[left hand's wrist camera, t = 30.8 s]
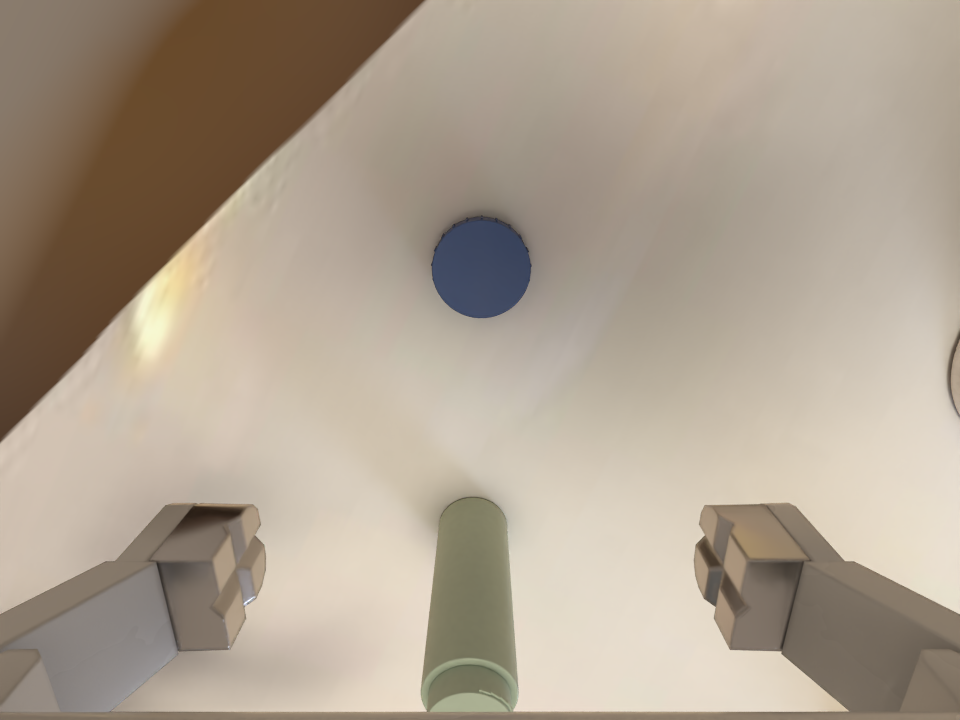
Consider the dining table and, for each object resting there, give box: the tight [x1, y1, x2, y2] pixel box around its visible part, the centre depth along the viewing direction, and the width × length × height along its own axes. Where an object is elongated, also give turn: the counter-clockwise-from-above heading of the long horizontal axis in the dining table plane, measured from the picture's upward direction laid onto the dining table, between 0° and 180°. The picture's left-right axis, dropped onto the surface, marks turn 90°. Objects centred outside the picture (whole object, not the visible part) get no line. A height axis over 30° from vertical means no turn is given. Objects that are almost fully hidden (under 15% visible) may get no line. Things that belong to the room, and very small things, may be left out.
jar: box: [421, 498, 519, 712], centre depth 35 cm, size 5×5×16 cm
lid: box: [431, 216, 531, 318], centre depth 35 cm, size 6×6×2 cm
